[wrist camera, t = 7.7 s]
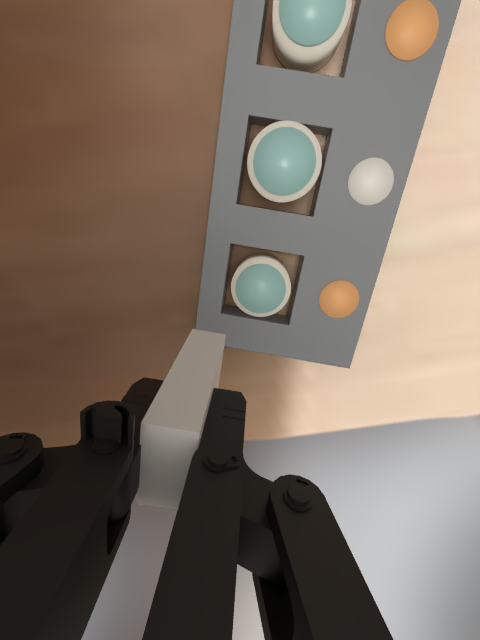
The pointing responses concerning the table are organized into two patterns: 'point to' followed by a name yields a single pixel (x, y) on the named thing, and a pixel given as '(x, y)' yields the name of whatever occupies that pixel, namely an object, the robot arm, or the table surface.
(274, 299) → the button
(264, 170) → the button
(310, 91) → the board
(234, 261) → the table surface
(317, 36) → the button
